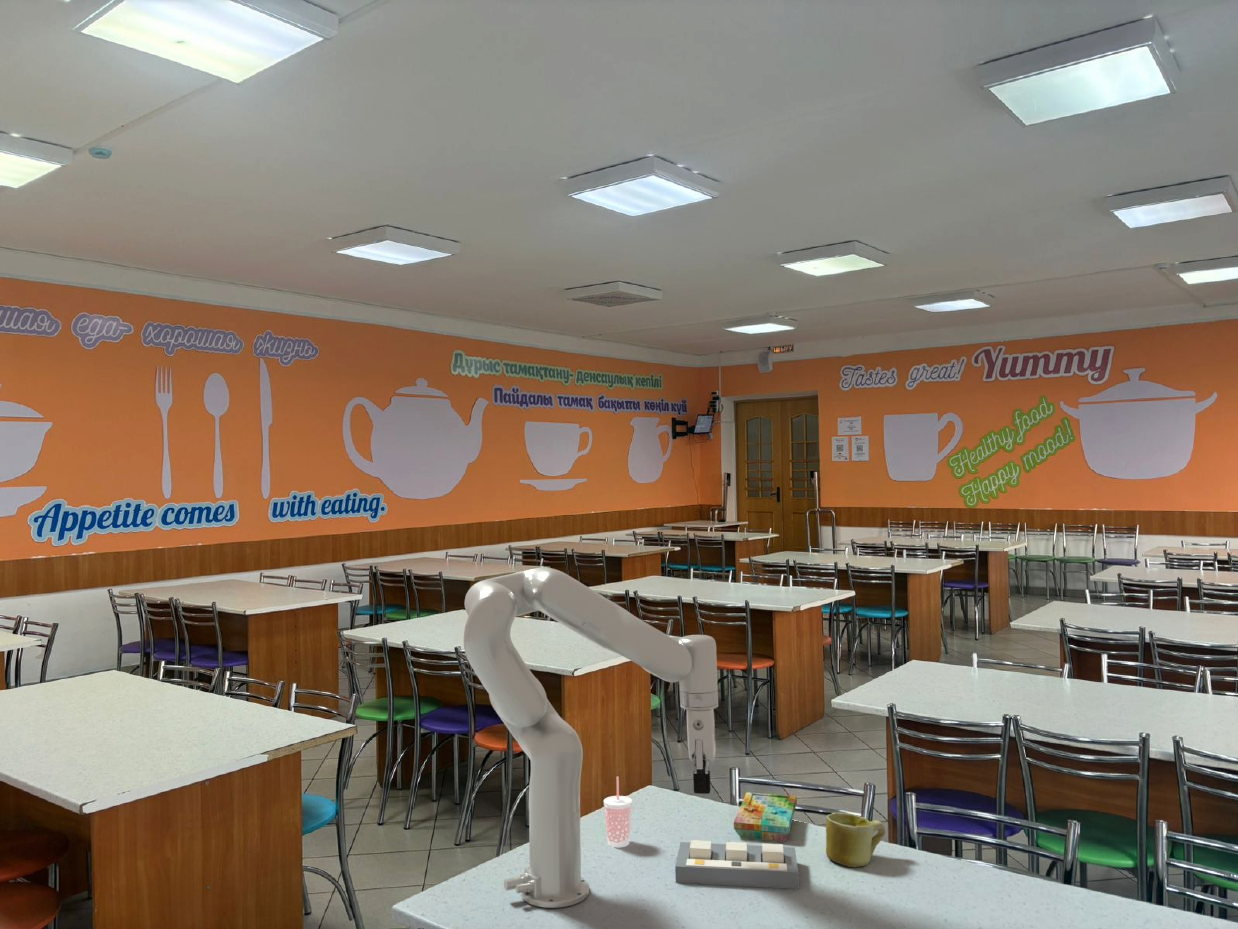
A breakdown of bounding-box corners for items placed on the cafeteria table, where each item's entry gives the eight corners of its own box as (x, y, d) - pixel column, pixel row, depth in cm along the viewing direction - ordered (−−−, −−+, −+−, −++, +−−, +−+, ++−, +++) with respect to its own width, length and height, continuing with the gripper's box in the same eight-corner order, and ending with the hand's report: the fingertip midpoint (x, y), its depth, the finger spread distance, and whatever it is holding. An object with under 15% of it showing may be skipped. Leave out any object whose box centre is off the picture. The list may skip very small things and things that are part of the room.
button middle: (747, 866, 168) (746, 850, 168) (726, 865, 168) (725, 849, 168) (747, 858, 172) (746, 842, 172) (726, 857, 172) (726, 841, 172)
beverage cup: (611, 836, 189) (611, 770, 190) (637, 840, 186) (636, 774, 187) (599, 846, 184) (598, 779, 184) (625, 851, 181) (624, 782, 182)
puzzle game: (733, 818, 187) (746, 788, 206) (734, 840, 187) (746, 808, 206) (788, 823, 184) (796, 792, 203) (789, 845, 184) (797, 813, 203)
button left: (710, 864, 169) (710, 849, 169) (690, 863, 169) (689, 848, 169) (711, 856, 173) (711, 841, 173) (691, 855, 173) (691, 840, 173)
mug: (828, 863, 169) (833, 809, 172) (816, 859, 179) (821, 808, 182) (891, 876, 168) (895, 821, 172) (875, 871, 178) (879, 819, 182)
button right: (783, 868, 167) (783, 852, 167) (762, 867, 167) (762, 851, 167) (783, 860, 171) (782, 844, 171) (762, 859, 171) (762, 843, 171)
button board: (798, 889, 162) (798, 871, 162) (675, 882, 166) (675, 864, 166) (795, 862, 174) (794, 846, 174) (680, 857, 177) (680, 840, 178)
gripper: (716, 708, 165) (720, 806, 164) (719, 690, 179) (722, 780, 179) (677, 707, 166) (680, 805, 165) (683, 690, 180) (686, 779, 180)
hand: (702, 792), depth 172 cm, fingers closed
